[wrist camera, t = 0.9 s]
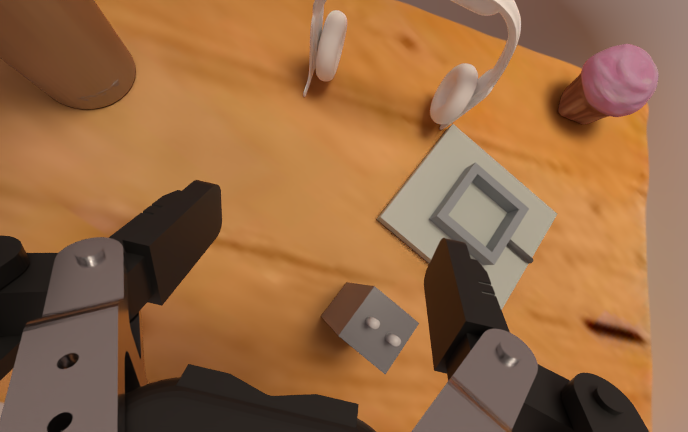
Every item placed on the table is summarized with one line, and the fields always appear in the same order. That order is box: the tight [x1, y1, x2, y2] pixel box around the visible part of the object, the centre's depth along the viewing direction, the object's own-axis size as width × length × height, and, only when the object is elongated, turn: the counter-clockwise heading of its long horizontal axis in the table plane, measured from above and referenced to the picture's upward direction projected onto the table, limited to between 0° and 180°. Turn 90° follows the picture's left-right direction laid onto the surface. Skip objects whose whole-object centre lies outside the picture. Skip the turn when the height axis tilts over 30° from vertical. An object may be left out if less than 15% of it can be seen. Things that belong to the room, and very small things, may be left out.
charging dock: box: [377, 124, 557, 310], centre depth 38 cm, size 18×16×4 cm
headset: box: [303, 0, 521, 130], centre depth 31 cm, size 20×7×18 cm, turn 75°
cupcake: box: [558, 44, 658, 124], centre depth 41 cm, size 9×9×10 cm
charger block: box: [321, 283, 419, 374], centre depth 28 cm, size 5×5×12 cm
